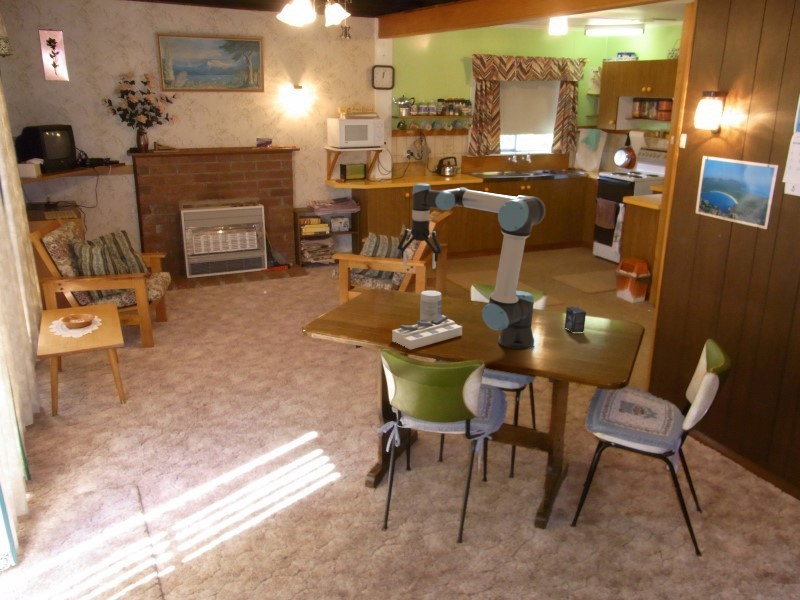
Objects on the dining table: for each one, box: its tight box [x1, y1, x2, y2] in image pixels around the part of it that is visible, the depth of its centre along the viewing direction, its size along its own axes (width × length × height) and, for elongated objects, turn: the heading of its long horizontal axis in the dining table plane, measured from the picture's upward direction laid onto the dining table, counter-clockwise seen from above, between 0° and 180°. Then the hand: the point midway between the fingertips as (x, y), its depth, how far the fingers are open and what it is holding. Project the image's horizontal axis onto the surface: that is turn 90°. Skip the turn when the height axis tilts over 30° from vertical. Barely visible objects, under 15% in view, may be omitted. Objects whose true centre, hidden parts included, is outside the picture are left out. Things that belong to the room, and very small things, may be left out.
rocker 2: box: [415, 320, 433, 327], centre depth 301 cm, size 3×7×2 cm, turn 130°
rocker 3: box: [431, 314, 449, 325], centre depth 307 cm, size 3×7×2 cm, turn 130°
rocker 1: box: [399, 324, 417, 331], centre depth 295 cm, size 3×7×2 cm, turn 130°
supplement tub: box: [419, 290, 442, 322], centre depth 318 cm, size 10×10×15 cm
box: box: [564, 306, 587, 332], centre depth 314 cm, size 8×6×11 cm
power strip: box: [391, 318, 464, 350], centre depth 302 cm, size 12×36×5 cm, turn 130°
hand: (419, 266), depth 307 cm, fingers open, 13 cm apart
